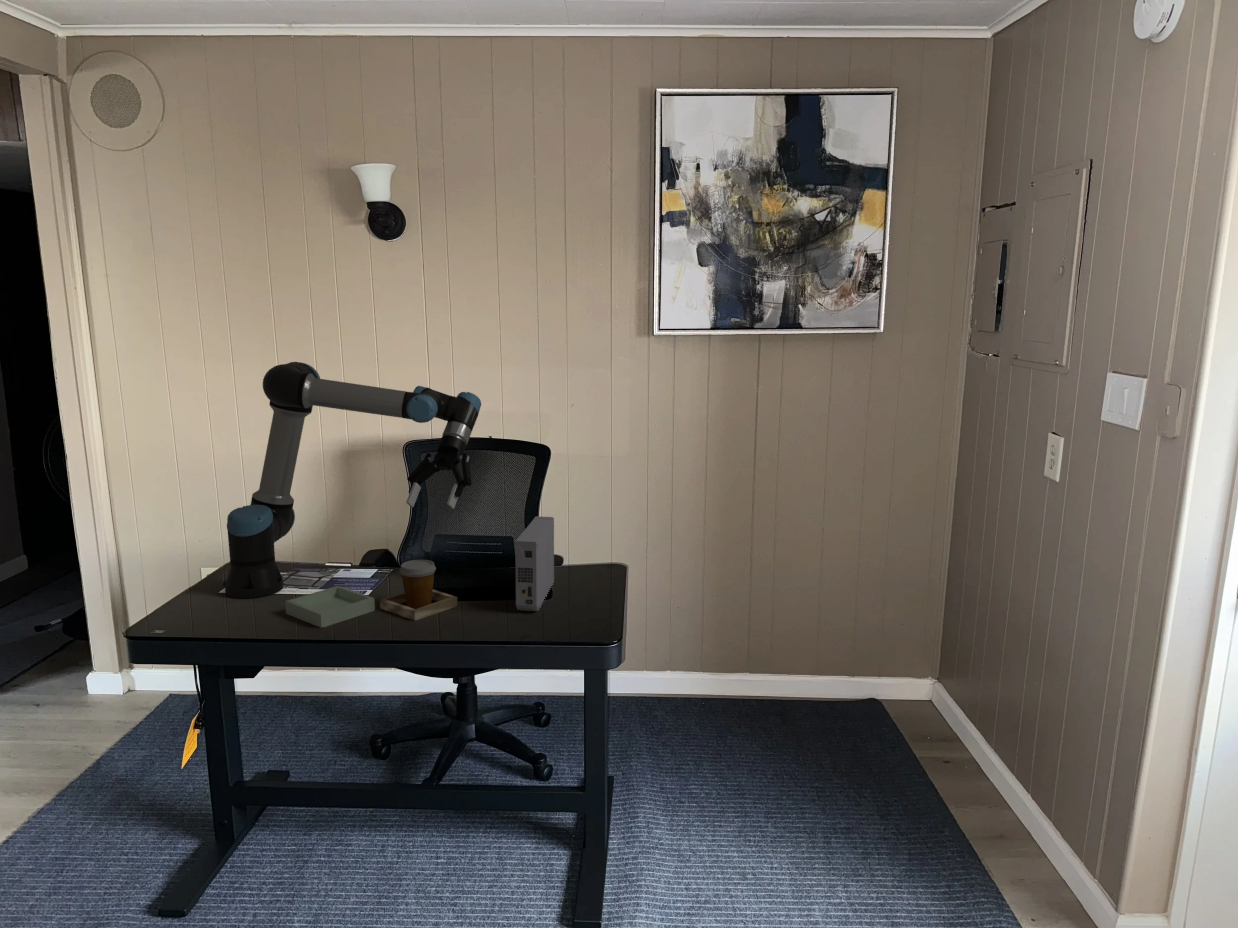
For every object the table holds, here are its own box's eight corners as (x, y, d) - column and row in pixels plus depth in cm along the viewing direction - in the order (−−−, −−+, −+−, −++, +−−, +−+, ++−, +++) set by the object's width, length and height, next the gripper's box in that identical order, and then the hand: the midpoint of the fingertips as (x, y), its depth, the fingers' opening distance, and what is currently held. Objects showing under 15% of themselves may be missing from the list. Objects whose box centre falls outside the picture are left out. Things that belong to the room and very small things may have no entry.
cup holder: (380, 608, 222) (379, 599, 222) (422, 594, 234) (422, 586, 233) (415, 620, 214) (414, 611, 213) (457, 605, 225) (457, 596, 225)
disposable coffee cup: (420, 598, 230) (419, 557, 228) (444, 606, 225) (443, 563, 223) (393, 608, 223) (391, 565, 221) (417, 616, 217) (415, 571, 215)
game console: (555, 582, 246) (555, 516, 243) (537, 614, 219) (537, 541, 216) (536, 581, 247) (535, 516, 243) (516, 613, 220) (515, 541, 216)
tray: (286, 613, 218) (285, 600, 217) (339, 597, 230) (338, 585, 230) (321, 627, 208) (320, 614, 208) (374, 610, 221) (374, 597, 220)
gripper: (497, 448, 237) (474, 513, 226) (425, 448, 247) (400, 510, 237) (485, 433, 231) (461, 500, 221) (412, 434, 241) (385, 497, 231)
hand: (429, 505), depth 229 cm, fingers open, 13 cm apart
